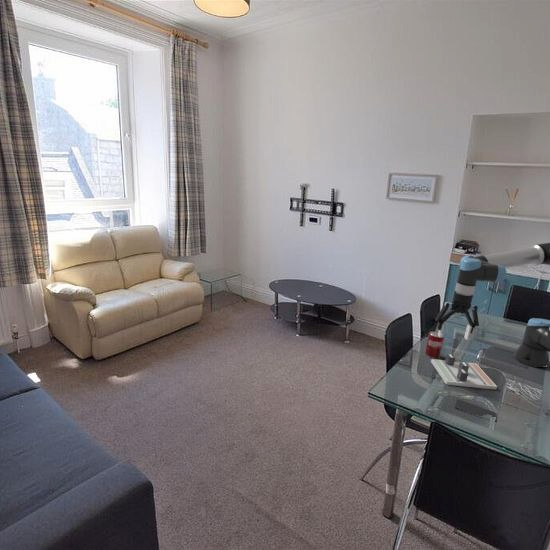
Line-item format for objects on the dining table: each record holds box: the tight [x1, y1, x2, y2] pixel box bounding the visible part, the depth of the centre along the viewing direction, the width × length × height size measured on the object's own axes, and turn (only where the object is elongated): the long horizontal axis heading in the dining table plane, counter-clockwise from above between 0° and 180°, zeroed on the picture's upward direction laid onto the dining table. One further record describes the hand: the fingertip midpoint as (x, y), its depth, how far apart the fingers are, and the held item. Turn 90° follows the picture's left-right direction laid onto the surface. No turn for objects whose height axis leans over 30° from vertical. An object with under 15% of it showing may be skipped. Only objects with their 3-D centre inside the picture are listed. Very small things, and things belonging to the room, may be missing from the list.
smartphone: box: [453, 398, 497, 418], centre depth 148 cm, size 7×1×15 cm
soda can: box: [424, 331, 445, 360], centre depth 189 cm, size 7×7×12 cm
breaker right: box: [457, 369, 468, 381], centre depth 167 cm, size 3×3×4 cm
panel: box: [430, 358, 498, 390], centre depth 174 cm, size 22×20×2 cm
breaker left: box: [445, 353, 456, 365], centre depth 180 cm, size 3×3×4 cm
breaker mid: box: [458, 361, 469, 373], centre depth 174 cm, size 3×3×4 cm
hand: (452, 337), depth 170 cm, fingers open, 11 cm apart
